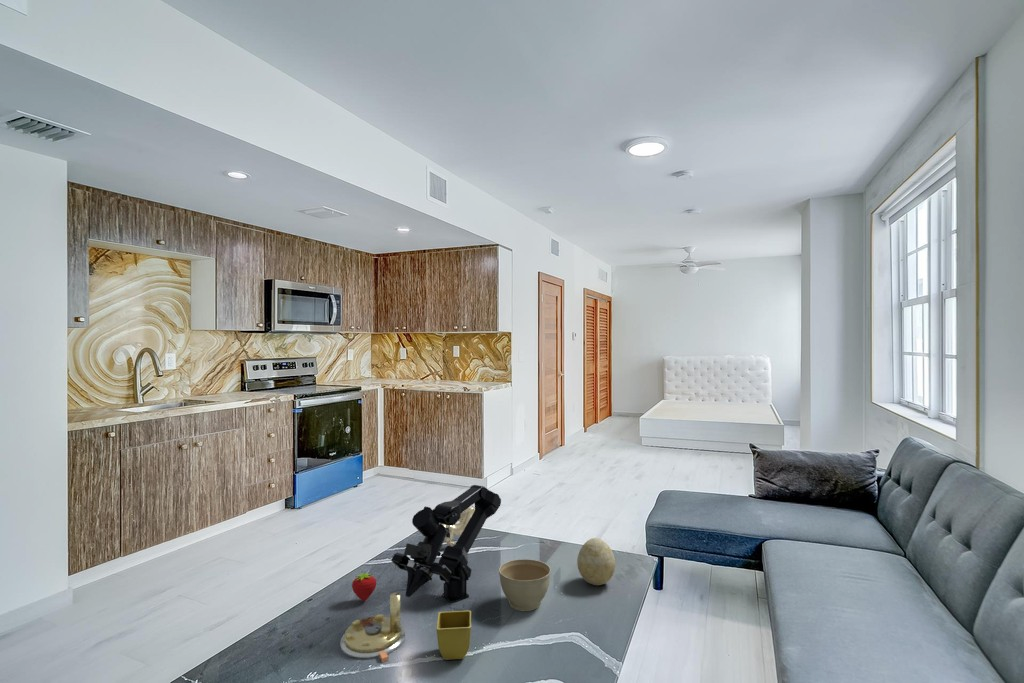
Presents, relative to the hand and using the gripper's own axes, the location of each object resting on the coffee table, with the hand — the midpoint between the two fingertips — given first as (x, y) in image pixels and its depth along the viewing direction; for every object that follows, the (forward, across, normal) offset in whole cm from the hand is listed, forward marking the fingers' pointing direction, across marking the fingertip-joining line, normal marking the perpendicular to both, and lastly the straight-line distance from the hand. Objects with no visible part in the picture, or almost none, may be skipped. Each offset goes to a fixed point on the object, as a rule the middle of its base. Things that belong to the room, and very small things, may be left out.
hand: (407, 596), depth 142 cm
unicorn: (-33, -23, +47) cm, 62 cm away
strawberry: (+2, -23, +12) cm, 26 cm away
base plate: (+12, -5, +1) cm, 14 cm away
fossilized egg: (-31, +36, +45) cm, 66 cm away
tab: (+16, +3, -2) cm, 16 cm away
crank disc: (+12, -5, +1) cm, 14 cm away
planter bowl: (-14, +22, +28) cm, 38 cm away
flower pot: (+9, +18, +5) cm, 21 cm away
